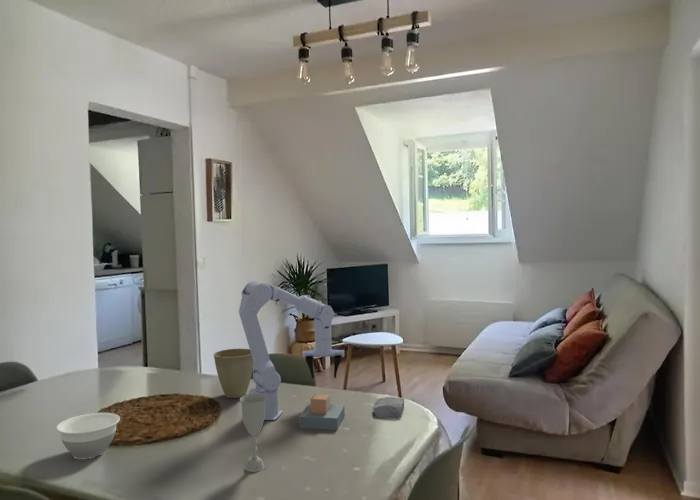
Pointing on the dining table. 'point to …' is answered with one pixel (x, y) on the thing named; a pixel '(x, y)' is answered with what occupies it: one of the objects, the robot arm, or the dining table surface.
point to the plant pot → (234, 371)
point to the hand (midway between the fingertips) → (323, 377)
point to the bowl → (88, 433)
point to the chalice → (253, 425)
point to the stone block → (389, 407)
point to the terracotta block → (320, 404)
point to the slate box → (322, 418)
